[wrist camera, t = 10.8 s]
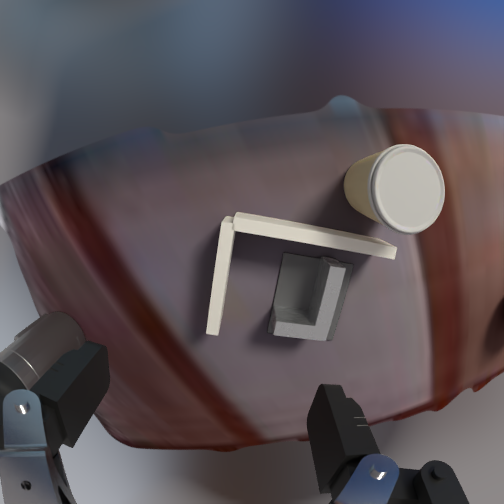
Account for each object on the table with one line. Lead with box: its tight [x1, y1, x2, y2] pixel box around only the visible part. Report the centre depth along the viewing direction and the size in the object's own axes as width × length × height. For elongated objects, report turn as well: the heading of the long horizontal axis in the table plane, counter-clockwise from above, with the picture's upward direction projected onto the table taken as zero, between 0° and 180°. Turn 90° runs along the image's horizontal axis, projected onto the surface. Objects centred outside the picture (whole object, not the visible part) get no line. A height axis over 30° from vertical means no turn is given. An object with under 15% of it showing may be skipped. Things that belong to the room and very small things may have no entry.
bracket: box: [271, 256, 346, 341], centre depth 38 cm, size 10×7×5 cm
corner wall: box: [206, 212, 397, 336], centre depth 37 cm, size 21×15×6 cm
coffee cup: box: [344, 144, 445, 235], centre depth 32 cm, size 9×9×12 cm
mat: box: [267, 252, 353, 340], centre depth 41 cm, size 10×12×1 cm
